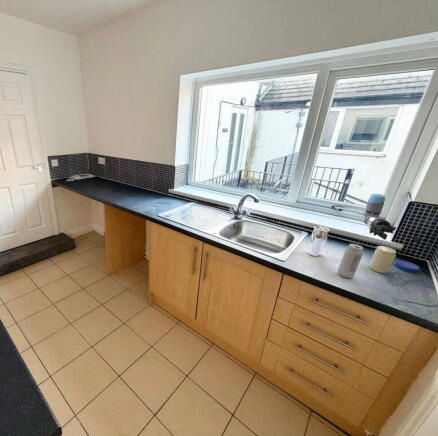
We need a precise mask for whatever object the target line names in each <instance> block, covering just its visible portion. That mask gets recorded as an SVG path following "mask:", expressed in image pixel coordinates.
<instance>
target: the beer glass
mask: <svg viewBox="0 0 438 436" xmlns="http://www.w3.org/2000/svg"><path fill="white" fill-rule="evenodd" d="M330 230H331V229H329V228H328V227H326V226H324V225H323V226H321V225H315V226H314V228H313V230H312V233H311V235H310V245H309V248H308V250H307V253H308V254H309V255H310V256H313V257H321V256H322V250H323V248H324V246H325V244H326V243H327V240H328V238H329V235H330Z"/></svg>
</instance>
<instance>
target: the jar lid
mask: <svg viewBox="0 0 438 436" xmlns="http://www.w3.org/2000/svg"><path fill="white" fill-rule="evenodd" d="M394 266H395V267H396V268H397V269H399V270H401V271H403V272H407V273H410V274H417V273H418V272H419V271H420V266H418V265H416V264H415V263H413V262H409V261H407V260H396V261H395V262H394Z"/></svg>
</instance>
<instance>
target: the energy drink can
mask: <svg viewBox="0 0 438 436" xmlns="http://www.w3.org/2000/svg"><path fill="white" fill-rule="evenodd" d="M364 252H365V251H364V247H363V246H362V245H360V244H356V243H349V244H348V246H346V247H345V250H344V253H343V256H342V258H341V261H340V263H339V266H338V269H337V273H338V275H339V276H341V277H343V278H346V279H352V278H353V277H355V274H356V272H357V269H358V268H359V265H360V262H361V260H362V257H363V255H364Z"/></svg>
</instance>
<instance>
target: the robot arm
mask: <svg viewBox="0 0 438 436" xmlns="http://www.w3.org/2000/svg"><path fill="white" fill-rule="evenodd" d="M383 195H384V194H381V193H371V194H370V195H369V198H368V200H367V203H366V206H365V209H366V212H365V211H364V212H365V214H364V216H365V219H364V223H365V225H366V224H367V225H366V226H368V229H369V232H368V233H369V234H372V235H373V236H378V237H380V238H381V239H383V240H384V241H387V238H388V234H392V235H394V234H393V233H394V231H395V229H396V228H397V227H395V226H393V225H391V223H390V222H389V221H388V220H386V219H384V218H383V217H381V215H380V213H381V214H382V212H383V210H382V208H383V205H384V201H385V196H383ZM381 211H382V212H381ZM372 213H373V214H372ZM379 215H380V217H379ZM364 223H363V224H364ZM421 241H422V238H421V237H419V236H418V235H417V236H415V238H414V239H413V241H412V242H414V243H416V244H420V242H421Z"/></svg>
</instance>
